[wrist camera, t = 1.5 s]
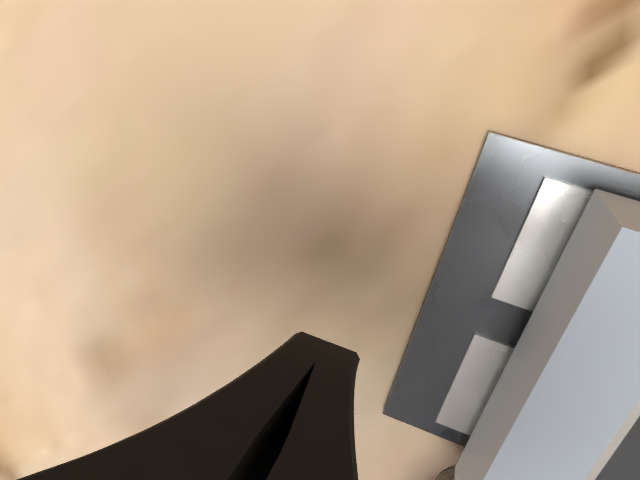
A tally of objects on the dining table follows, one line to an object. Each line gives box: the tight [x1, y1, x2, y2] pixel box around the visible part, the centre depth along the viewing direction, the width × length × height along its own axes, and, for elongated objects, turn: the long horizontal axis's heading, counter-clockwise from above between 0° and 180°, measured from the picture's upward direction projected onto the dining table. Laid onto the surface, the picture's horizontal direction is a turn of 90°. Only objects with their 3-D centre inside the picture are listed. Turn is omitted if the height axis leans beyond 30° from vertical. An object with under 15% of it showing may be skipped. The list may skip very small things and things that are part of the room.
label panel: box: [383, 131, 640, 480], centre depth 17 cm, size 12×10×1 cm
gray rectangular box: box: [454, 189, 640, 480], centre depth 15 cm, size 12×2×3 cm, turn 166°
